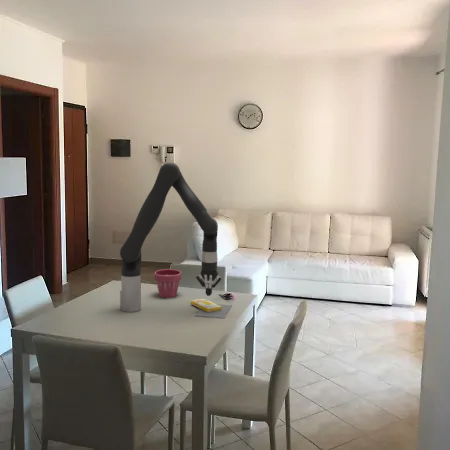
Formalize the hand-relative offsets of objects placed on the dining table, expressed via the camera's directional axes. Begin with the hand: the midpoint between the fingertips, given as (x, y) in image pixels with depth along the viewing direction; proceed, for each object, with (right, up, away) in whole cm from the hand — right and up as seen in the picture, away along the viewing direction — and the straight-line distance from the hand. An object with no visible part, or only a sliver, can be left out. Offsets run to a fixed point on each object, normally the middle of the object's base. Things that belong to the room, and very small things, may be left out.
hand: (208, 295), depth 244 cm
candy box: (-5, -6, +3) cm, 8 cm away
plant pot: (-23, -4, +26) cm, 34 cm away
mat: (+2, -8, +1) cm, 8 cm away
